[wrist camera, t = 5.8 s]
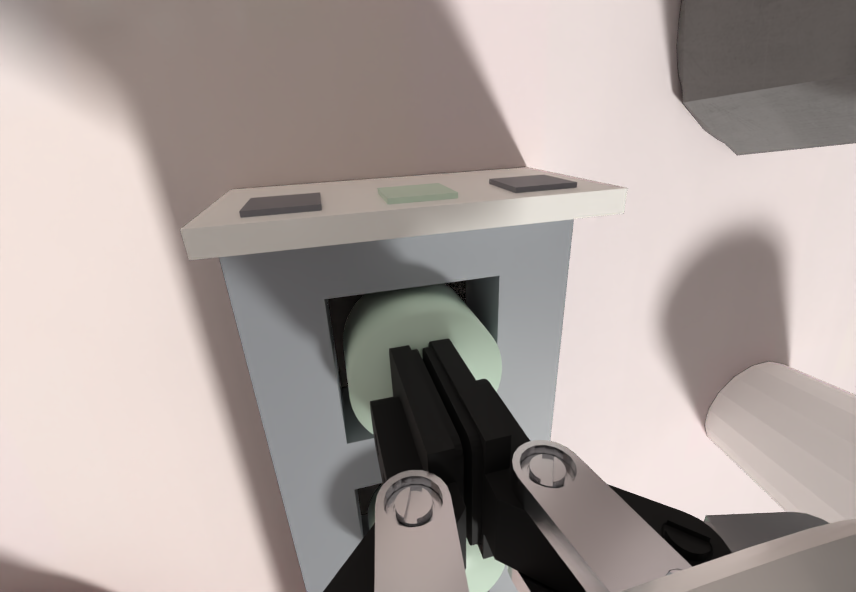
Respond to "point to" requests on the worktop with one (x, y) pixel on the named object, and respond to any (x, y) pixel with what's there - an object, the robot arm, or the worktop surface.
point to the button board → (375, 272)
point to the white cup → (790, 438)
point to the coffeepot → (770, 72)
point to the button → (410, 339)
